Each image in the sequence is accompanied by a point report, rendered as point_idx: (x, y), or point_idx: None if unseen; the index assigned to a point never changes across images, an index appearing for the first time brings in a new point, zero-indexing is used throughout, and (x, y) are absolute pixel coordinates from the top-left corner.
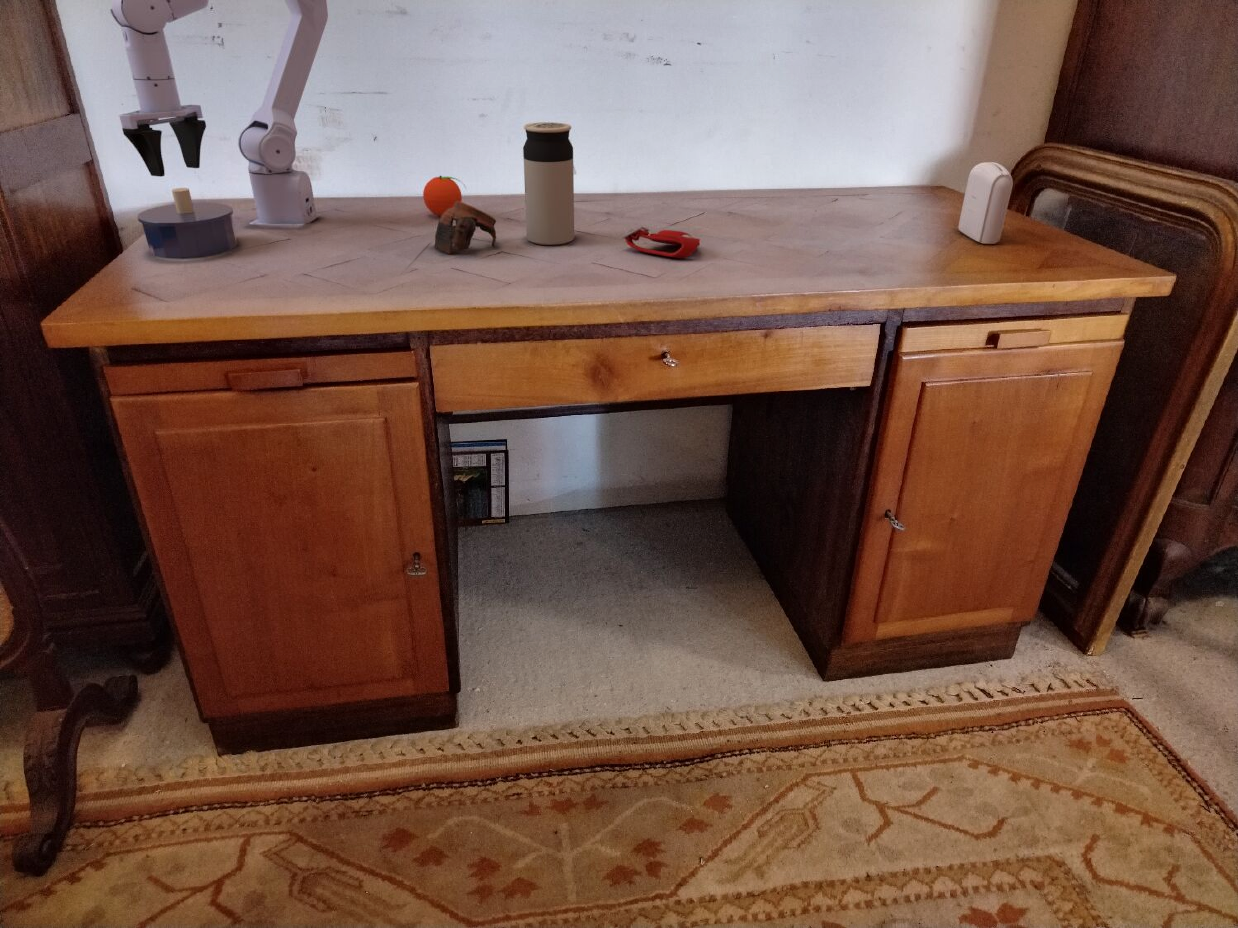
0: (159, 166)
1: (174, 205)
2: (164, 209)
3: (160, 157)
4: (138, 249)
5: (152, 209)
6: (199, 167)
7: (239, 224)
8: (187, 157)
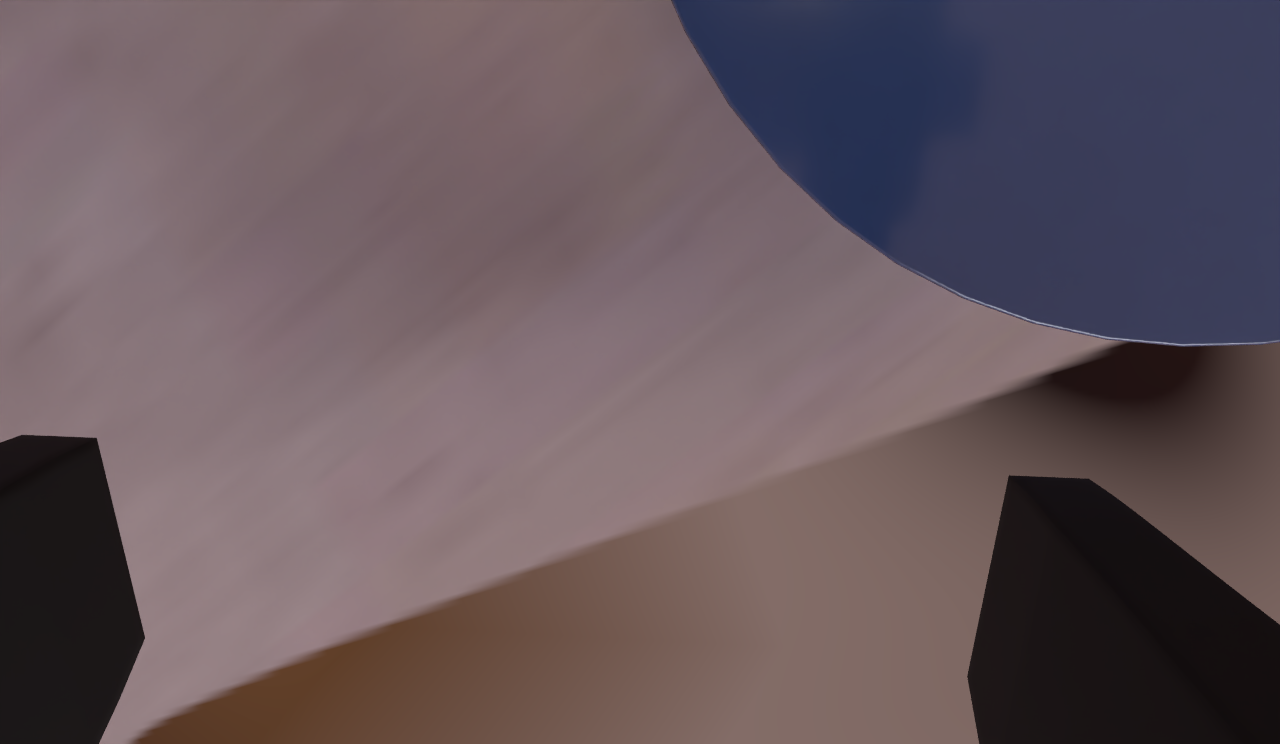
0: (1216, 581)
1: (944, 187)
2: (1216, 142)
3: (1262, 699)
4: None
5: (1234, 294)
6: (18, 437)
7: (18, 43)
8: (22, 734)
